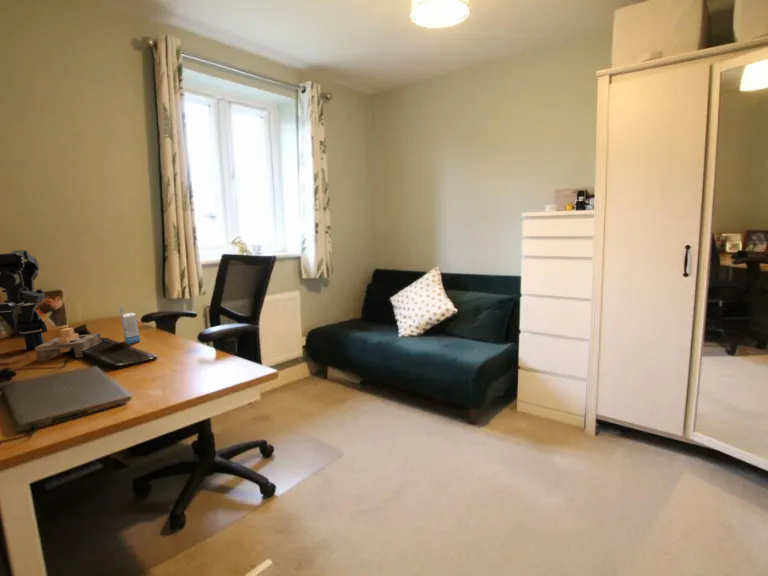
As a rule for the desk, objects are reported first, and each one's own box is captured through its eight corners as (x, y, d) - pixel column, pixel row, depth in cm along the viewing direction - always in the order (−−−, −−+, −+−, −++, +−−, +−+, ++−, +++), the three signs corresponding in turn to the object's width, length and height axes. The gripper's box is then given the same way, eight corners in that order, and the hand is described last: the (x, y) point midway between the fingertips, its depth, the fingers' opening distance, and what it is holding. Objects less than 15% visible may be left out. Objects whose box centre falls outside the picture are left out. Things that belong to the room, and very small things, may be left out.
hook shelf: (59, 350, 170) (57, 337, 170) (102, 346, 173) (100, 333, 172) (37, 361, 157) (34, 347, 156) (84, 356, 159) (81, 342, 158)
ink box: (141, 341, 177) (135, 307, 174) (127, 344, 174) (121, 309, 171) (137, 338, 183) (132, 305, 181) (124, 340, 180) (118, 307, 178)
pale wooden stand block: (72, 346, 168) (68, 326, 167) (80, 345, 169) (76, 326, 167) (60, 352, 160) (56, 331, 159) (68, 351, 161) (65, 331, 160)
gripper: (21, 287, 153) (29, 329, 155) (52, 280, 171) (59, 318, 173) (-14, 290, 151) (-5, 332, 154) (21, 283, 169) (29, 320, 172)
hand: (22, 325), depth 163 cm, fingers open, 9 cm apart
